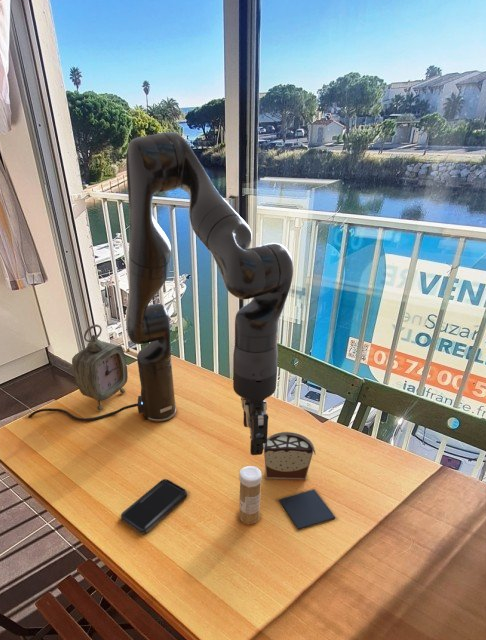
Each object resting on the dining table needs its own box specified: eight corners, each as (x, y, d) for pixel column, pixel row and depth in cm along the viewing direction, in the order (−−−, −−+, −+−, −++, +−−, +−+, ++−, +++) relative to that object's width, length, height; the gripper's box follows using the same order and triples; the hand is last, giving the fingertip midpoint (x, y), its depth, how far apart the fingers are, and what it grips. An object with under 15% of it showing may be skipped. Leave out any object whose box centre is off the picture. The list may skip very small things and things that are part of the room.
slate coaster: (298, 529, 96) (298, 528, 96) (278, 500, 103) (279, 499, 103) (335, 518, 98) (335, 517, 98) (313, 490, 105) (314, 489, 105)
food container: (308, 462, 113) (313, 430, 107) (311, 479, 108) (316, 447, 102) (259, 461, 114) (260, 430, 109) (260, 478, 110) (261, 446, 104)
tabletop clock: (100, 415, 135) (84, 339, 120) (78, 407, 139) (60, 333, 124) (131, 391, 144) (119, 319, 129) (109, 384, 148) (96, 313, 134)
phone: (188, 491, 105) (143, 532, 96) (189, 495, 106) (144, 535, 97) (164, 477, 110) (118, 515, 101) (164, 480, 110) (119, 518, 101)
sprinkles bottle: (238, 509, 102) (238, 465, 94) (258, 508, 102) (260, 464, 94) (239, 525, 98) (240, 480, 90) (260, 524, 98) (263, 480, 90)
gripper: (228, 348, 83) (228, 419, 93) (239, 390, 72) (238, 465, 81) (268, 345, 83) (265, 416, 93) (286, 386, 72) (279, 462, 81)
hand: (252, 439), depth 87 cm, fingers open, 8 cm apart
